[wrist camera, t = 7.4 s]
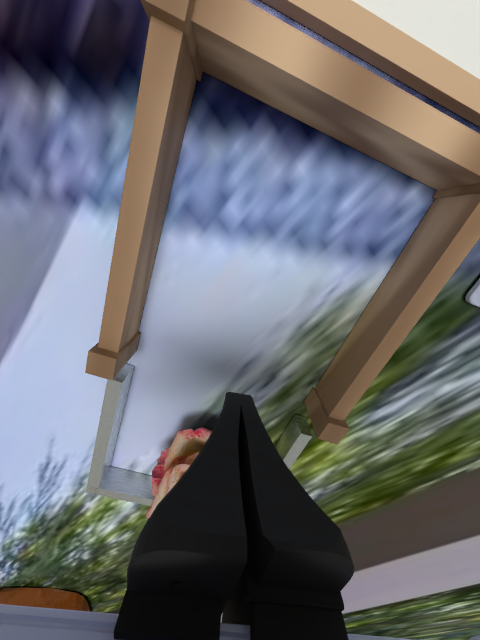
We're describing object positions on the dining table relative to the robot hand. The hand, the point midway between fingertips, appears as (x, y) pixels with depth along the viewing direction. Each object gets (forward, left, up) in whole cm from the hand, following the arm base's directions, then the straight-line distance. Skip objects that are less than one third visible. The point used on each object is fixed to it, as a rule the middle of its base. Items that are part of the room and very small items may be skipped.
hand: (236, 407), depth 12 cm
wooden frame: (0, -7, -5) cm, 9 cm away
